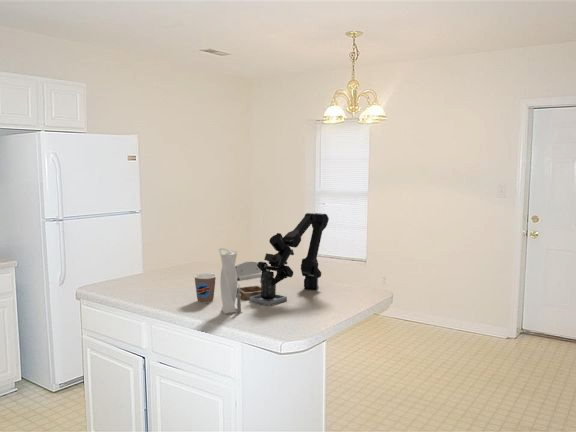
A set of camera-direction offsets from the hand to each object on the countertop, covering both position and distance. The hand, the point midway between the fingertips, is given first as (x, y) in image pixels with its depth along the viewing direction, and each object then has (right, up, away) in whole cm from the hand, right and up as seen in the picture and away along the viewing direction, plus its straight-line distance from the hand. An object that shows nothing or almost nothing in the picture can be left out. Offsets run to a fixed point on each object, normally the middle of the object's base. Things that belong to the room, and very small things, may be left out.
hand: (266, 284), depth 235 cm
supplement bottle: (+1, -7, +2) cm, 7 cm away
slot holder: (-8, -7, +12) cm, 16 cm away
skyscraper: (-15, -10, -16) cm, 24 cm away
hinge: (-13, -4, +53) cm, 54 cm away
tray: (+1, -8, +2) cm, 8 cm away
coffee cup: (-28, -8, +1) cm, 30 cm away
